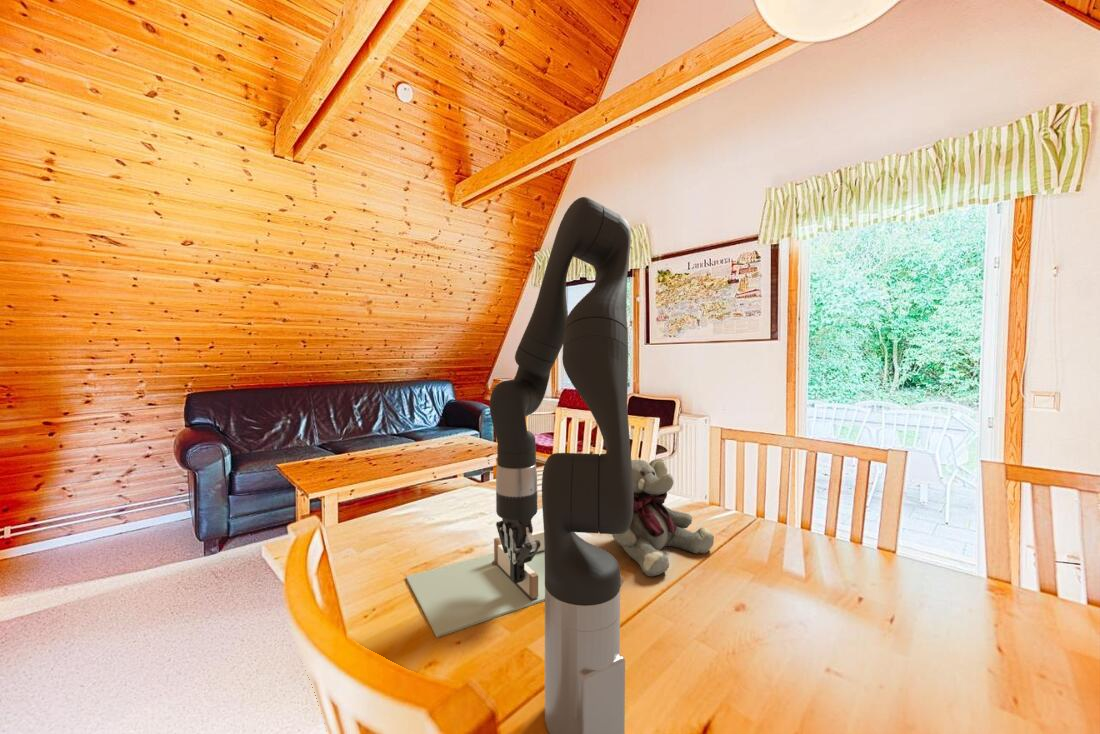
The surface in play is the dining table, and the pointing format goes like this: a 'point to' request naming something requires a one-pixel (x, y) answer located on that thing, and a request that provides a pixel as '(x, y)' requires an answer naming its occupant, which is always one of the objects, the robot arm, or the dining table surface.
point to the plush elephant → (657, 521)
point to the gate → (529, 575)
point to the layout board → (472, 592)
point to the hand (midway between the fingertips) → (517, 580)
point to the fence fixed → (537, 536)
